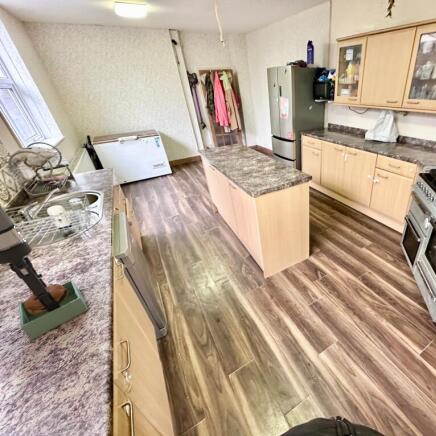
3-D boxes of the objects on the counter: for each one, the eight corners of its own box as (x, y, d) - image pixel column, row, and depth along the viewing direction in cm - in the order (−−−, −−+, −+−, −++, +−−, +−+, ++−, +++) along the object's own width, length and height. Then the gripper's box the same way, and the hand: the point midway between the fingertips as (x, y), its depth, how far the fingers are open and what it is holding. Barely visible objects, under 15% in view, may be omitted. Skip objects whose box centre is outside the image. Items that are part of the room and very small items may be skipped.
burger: (21, 318, 70) (11, 307, 67) (44, 295, 78) (36, 284, 76) (58, 312, 71) (49, 301, 69) (77, 290, 79) (70, 279, 77)
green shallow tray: (28, 315, 76) (18, 303, 74) (79, 290, 85) (72, 279, 82) (32, 339, 68) (20, 327, 66) (88, 309, 77) (80, 298, 74)
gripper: (32, 251, 60) (76, 310, 71) (17, 228, 72) (56, 281, 83) (-11, 267, 55) (43, 328, 66) (-19, 239, 67) (27, 295, 78)
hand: (50, 302), depth 74 cm, fingers closed on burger, 10 cm apart
